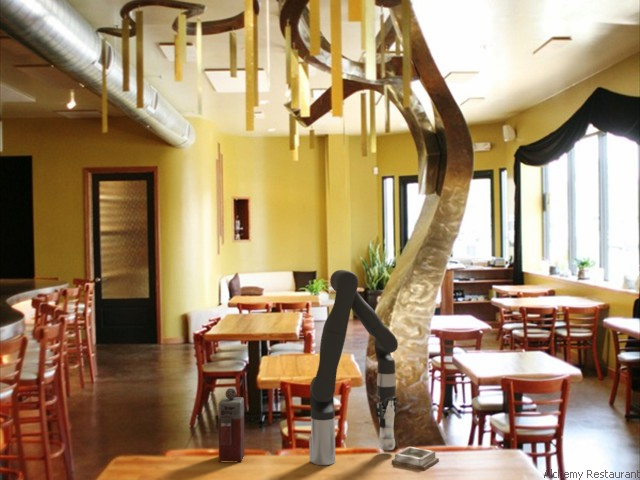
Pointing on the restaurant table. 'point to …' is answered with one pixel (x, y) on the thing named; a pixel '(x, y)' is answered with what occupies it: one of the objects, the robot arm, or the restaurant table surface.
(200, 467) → the restaurant table surface
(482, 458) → the restaurant table surface
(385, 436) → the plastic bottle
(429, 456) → the socket board
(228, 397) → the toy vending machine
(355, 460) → the restaurant table surface
